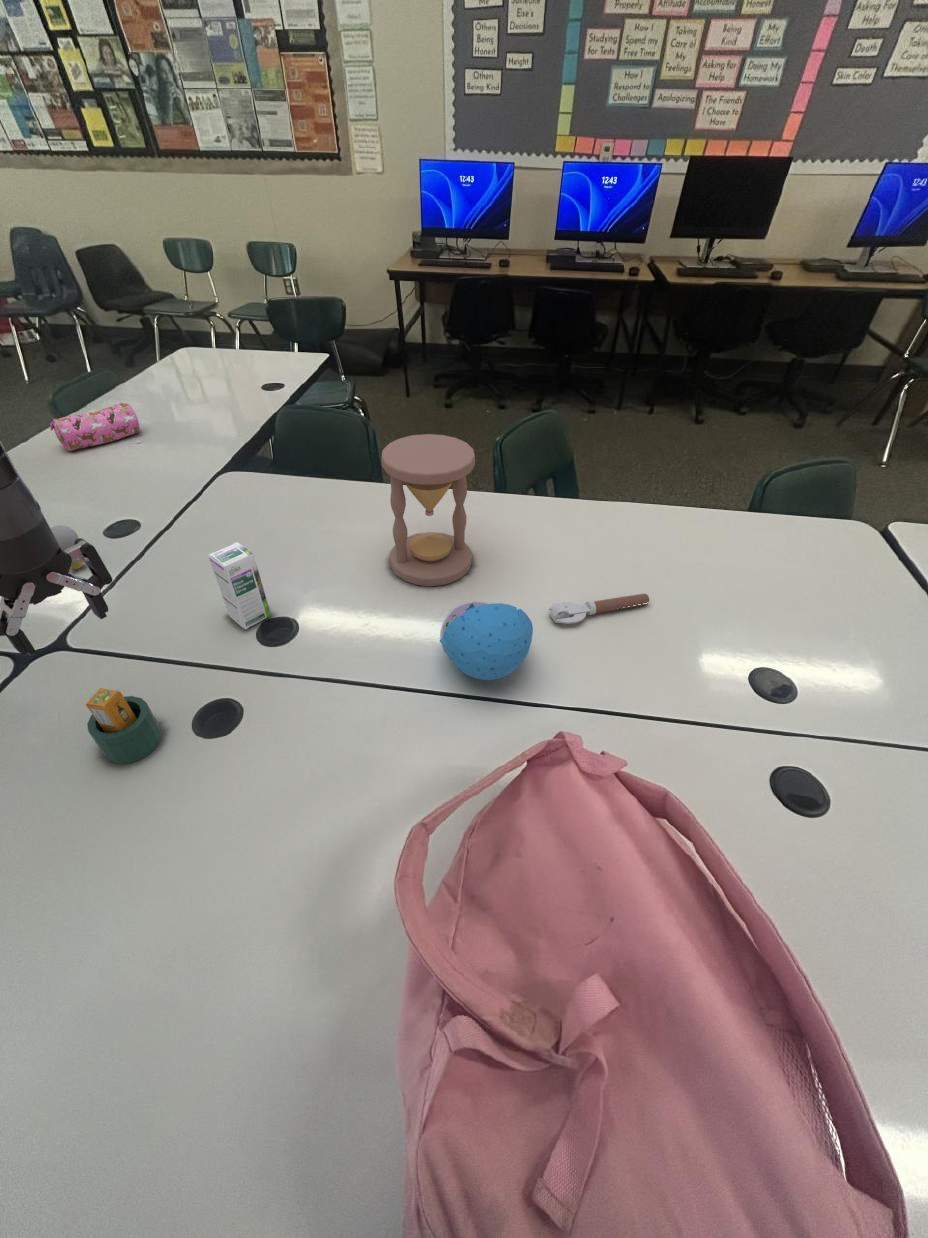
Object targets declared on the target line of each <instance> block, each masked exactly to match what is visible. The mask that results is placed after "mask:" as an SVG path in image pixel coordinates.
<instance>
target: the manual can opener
mask: <svg viewBox="0 0 928 1238" xmlns="http://www.w3.org/2000/svg"><path fill="white" fill-rule="evenodd" d="M647 602H649V603H650V597H649V594H647V593H639V594H632V595H631V594H630V595H625V596H620V597H614V598H613V597H612V598H607V599H601V600H594V601H593V600H590V601H586V602H585V603H584V604H579V603H575V602H573V601H560V602H557V603H554V604H552V605H551V606H549V608H548V611H549V615H550V617H551V619H552V620H553V622H554V623H555V624H577V623H579V622H582V621H583V620H584V619H586V616H587V615H588V616H589V615H595V614H598V613H604V612H610V611H618V610H624V609H630V608H636V607H642V606H647V605H649V603H647ZM643 603H647V604H643ZM638 604H641V605H638ZM633 605H636V606H633ZM628 606H630V607H628ZM623 607H625V608H623ZM617 608H620V609H617ZM613 609H614V610H613ZM572 615H573V616H572Z"/></svg>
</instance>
